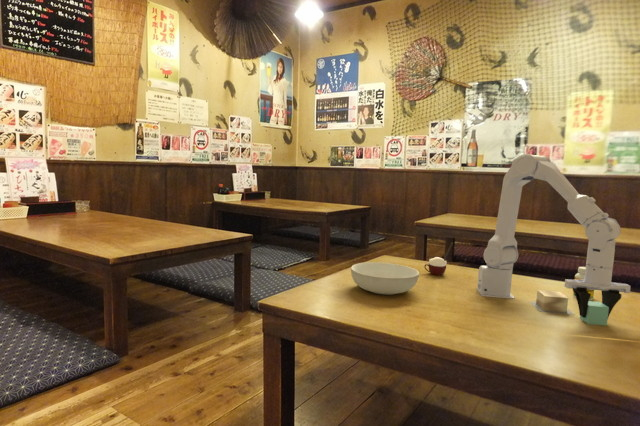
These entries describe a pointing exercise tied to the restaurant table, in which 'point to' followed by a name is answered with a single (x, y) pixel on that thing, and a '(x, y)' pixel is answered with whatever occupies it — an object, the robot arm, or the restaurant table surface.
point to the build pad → (549, 311)
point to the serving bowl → (384, 277)
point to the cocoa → (438, 264)
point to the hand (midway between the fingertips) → (593, 317)
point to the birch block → (552, 301)
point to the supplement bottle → (579, 277)
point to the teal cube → (596, 313)
